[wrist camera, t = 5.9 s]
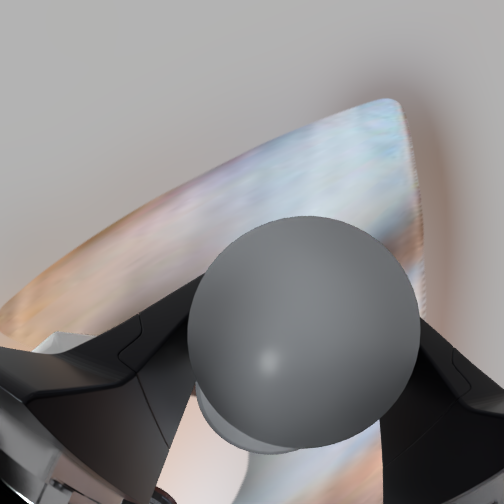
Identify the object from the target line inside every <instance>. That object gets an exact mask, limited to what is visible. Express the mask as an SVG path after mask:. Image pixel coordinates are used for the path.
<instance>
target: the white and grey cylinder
mask: <svg viewBox="0 0 504 504" xmlns="http://www.w3.org/2000/svg"><path fill="white" fill-rule="evenodd" d="M187 342H188V350H189V358H190V361H191V365H192V369H193V373H194V375H195V377H196V380H197V382H198V384H199V387H200V389H201V390H202V392H203V394H204V395H205V397H206V399H207V400H208V402H209V403H210V404H211V405H212V407H213V408H214V409H215V410H216V411H217V413H218V414H219V415H220V416H222V417H223V418H224V419H225V420H226V421H227V422H228V423H229V424H231V425H232V426H233V427H235V428H236V429H238V430H239V431H241V432H242V433H244V434H246V435H248V436H250V437H252V438H254V439H256V440H259V441H262V442H264V443H267V444H270V445H275V446H280V447H285V448H300V449H304V448H316V447H322V446H327V445H331V444H335V443H338V442H341V441H343V440H346V439H349V438H351V437H353V436H355V435H357V434H358V433H360V432H362V431H364V430H365V429H367V428H368V427H370V426H371V425H372V424H374V423H375V422H376V421H377V420H379V419H380V418H381V417H382V416H383V415H384V414H385V413H386V412H387V411H388V410H389V409H390V408H391V407H392V405H393V404H394V403H395V402H396V401H397V399H398V398H399V396H400V395H401V393H402V392H403V390H404V389H405V387H406V385H407V383H408V381H409V379H410V376H411V374H412V371H413V369H414V366H415V363H416V359H417V355H418V350H419V343H420V315H419V309H418V304H417V300H416V297H415V293H414V290H413V288H412V285H411V283H410V281H409V279H408V277H407V275H406V273H405V271H404V270H403V268H402V267H401V265H400V263H399V262H398V261H397V260H396V258H395V257H394V256H393V255H392V254H391V252H390V251H389V250H388V249H386V248H385V247H384V246H383V245H382V244H381V243H380V242H379V241H377V240H376V239H375V238H373V237H372V236H371V235H369V234H368V233H366V232H364V231H362V230H360V229H359V228H357V227H355V226H352V225H350V224H347V223H345V222H342V221H338V220H334V219H330V218H324V217H316V216H298V217H290V218H283V219H280V220H276V221H272V222H269V223H266V224H264V225H261V226H259V227H256V228H254V229H253V230H251V231H249V232H247V233H245V234H244V235H242V236H241V237H239V238H238V239H237V240H235V241H234V242H233V243H231V244H230V245H229V246H228V247H227V248H226V249H225V250H224V251H223V252H222V253H220V254H219V256H218V257H217V258H216V259H215V260H214V262H213V263H212V264H211V265H210V267H209V268H208V270H207V271H206V273H205V275H204V276H203V278H202V280H201V282H200V284H199V286H198V288H197V291H196V293H195V295H194V299H193V302H192V305H191V309H190V314H189V321H188V340H187Z"/></svg>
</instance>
